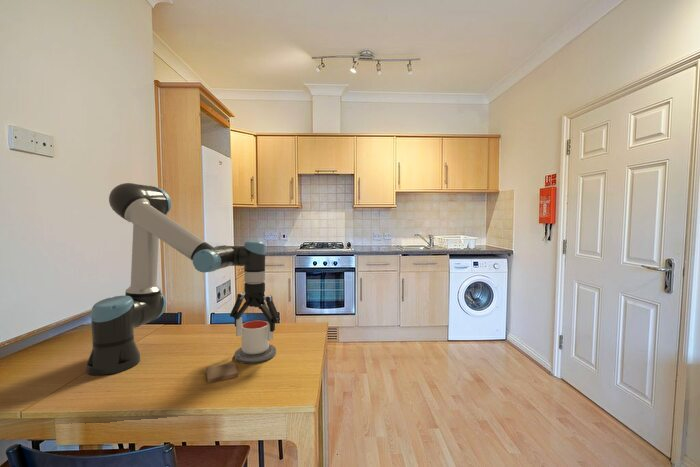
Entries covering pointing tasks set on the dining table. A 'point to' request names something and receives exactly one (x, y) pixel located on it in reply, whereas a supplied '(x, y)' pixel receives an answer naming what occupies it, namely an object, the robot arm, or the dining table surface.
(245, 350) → the cup
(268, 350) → the grey plate
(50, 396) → the dining table surface
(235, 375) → the oak coaster
